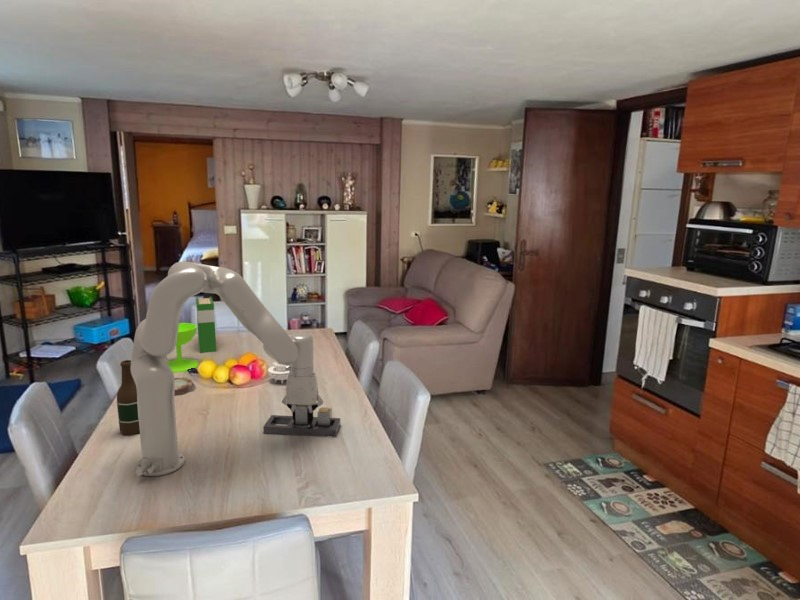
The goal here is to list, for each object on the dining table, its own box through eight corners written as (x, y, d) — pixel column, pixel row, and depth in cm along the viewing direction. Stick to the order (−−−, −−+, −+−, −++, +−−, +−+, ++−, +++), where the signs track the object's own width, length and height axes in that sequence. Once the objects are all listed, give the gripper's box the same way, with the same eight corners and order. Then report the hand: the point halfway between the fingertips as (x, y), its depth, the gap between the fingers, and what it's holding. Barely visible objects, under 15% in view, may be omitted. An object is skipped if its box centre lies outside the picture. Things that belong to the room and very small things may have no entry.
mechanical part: (263, 383, 215) (262, 356, 212) (278, 374, 226) (277, 348, 223) (287, 387, 211) (286, 359, 209) (301, 377, 222) (301, 351, 220)
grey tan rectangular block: (329, 433, 173) (329, 411, 171) (317, 432, 173) (317, 411, 172) (331, 427, 177) (331, 406, 175) (320, 427, 177) (320, 406, 175)
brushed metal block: (307, 426, 173) (307, 405, 171) (295, 425, 173) (295, 404, 172) (310, 421, 177) (309, 400, 175) (298, 420, 177) (298, 399, 175)
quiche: (181, 377, 221) (180, 368, 220) (214, 387, 212) (214, 378, 211) (136, 394, 203) (135, 384, 202) (170, 405, 194) (170, 395, 193)
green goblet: (190, 373, 225) (187, 332, 221) (153, 372, 225) (150, 331, 221) (204, 361, 240) (202, 323, 237) (170, 360, 241) (167, 322, 237)
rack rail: (340, 424, 179) (340, 418, 179) (335, 436, 170) (335, 430, 170) (271, 421, 180) (271, 415, 180) (263, 433, 172) (263, 426, 171)
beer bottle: (116, 437, 167) (109, 366, 162) (122, 426, 174) (116, 358, 169) (143, 434, 169) (137, 364, 164) (148, 424, 176) (142, 356, 171)
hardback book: (198, 343, 267) (195, 297, 262) (213, 341, 270) (211, 296, 265) (200, 353, 252) (197, 304, 247) (216, 351, 254) (213, 303, 249)
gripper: (273, 373, 168) (275, 425, 172) (324, 375, 167) (325, 428, 171) (280, 365, 175) (281, 416, 179) (329, 367, 174) (329, 418, 178)
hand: (303, 421), depth 175 cm, fingers closed on brushed metal block, 4 cm apart
